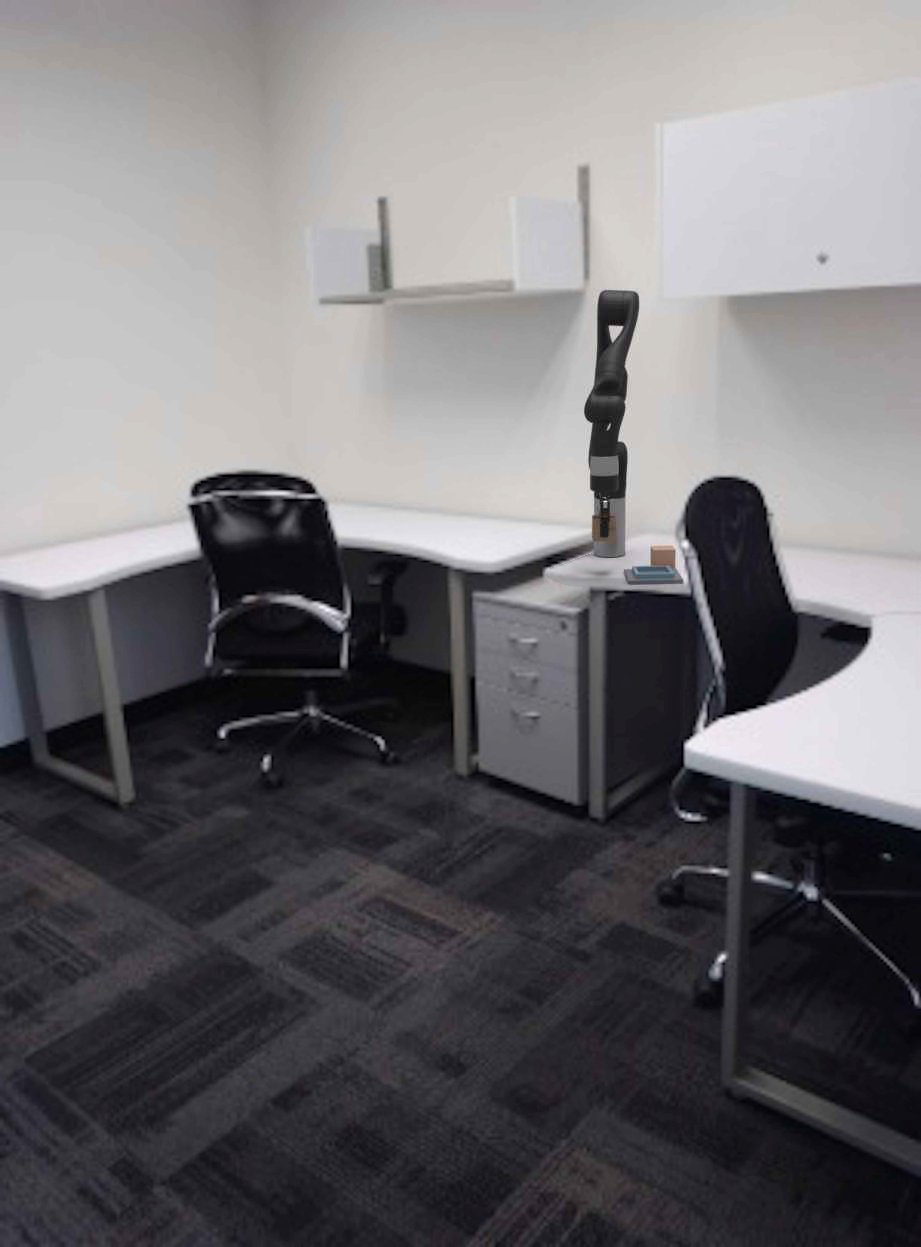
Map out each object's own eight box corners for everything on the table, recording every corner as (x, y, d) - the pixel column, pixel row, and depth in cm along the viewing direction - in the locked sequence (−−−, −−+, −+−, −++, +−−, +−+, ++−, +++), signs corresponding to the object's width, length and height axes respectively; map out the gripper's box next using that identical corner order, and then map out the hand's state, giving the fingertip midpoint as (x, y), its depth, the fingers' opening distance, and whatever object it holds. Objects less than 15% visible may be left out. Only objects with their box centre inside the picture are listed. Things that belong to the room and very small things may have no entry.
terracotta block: (650, 567, 272) (650, 546, 271) (672, 566, 272) (672, 545, 270) (652, 571, 267) (653, 550, 265) (675, 571, 266) (675, 549, 264)
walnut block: (592, 536, 267) (592, 515, 265) (614, 536, 266) (614, 514, 264) (592, 541, 261) (593, 519, 259) (615, 541, 260) (615, 518, 259)
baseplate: (623, 572, 266) (623, 564, 266) (675, 571, 265) (675, 563, 264) (628, 584, 253) (628, 576, 252) (683, 583, 252) (683, 575, 251)
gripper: (620, 476, 251) (619, 540, 256) (616, 468, 265) (616, 529, 270) (591, 476, 252) (590, 540, 257) (589, 468, 265) (588, 529, 270)
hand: (603, 534), depth 263 cm, fingers closed on walnut block, 6 cm apart
